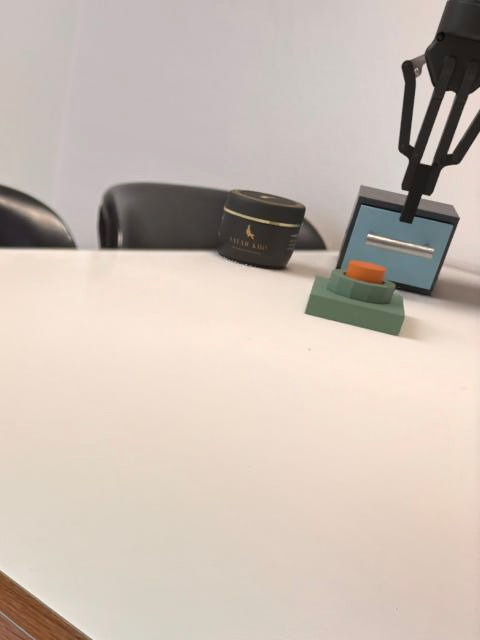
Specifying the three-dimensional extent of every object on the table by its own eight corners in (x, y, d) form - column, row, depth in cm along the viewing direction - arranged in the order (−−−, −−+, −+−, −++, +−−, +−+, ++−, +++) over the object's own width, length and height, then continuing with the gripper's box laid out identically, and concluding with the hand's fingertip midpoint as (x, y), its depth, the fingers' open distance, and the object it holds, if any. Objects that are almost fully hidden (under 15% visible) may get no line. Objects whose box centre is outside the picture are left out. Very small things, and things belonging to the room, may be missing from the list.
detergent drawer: (431, 298, 131) (456, 232, 127) (339, 276, 133) (360, 211, 129) (425, 272, 147) (447, 213, 143) (343, 253, 149) (362, 194, 145)
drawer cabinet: (431, 295, 138) (460, 218, 133) (334, 272, 140) (359, 195, 135) (426, 277, 150) (453, 205, 145) (337, 256, 152) (360, 184, 147)
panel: (397, 336, 113) (411, 298, 111) (304, 314, 115) (316, 276, 113) (395, 314, 123) (408, 279, 121) (310, 294, 125) (321, 259, 123)
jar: (204, 255, 134) (221, 191, 131) (221, 246, 143) (237, 185, 139) (282, 275, 132) (301, 210, 128) (294, 264, 140) (312, 203, 136)
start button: (381, 289, 115) (386, 272, 114) (344, 280, 116) (349, 263, 115) (380, 282, 118) (386, 266, 118) (345, 274, 119) (350, 258, 118)
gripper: (425, -13, 117) (351, 212, 129) (547, 10, 115) (461, 238, 127) (423, -9, 123) (353, 206, 135) (538, 13, 121) (457, 229, 133)
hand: (405, 221), depth 131 cm, fingers closed
